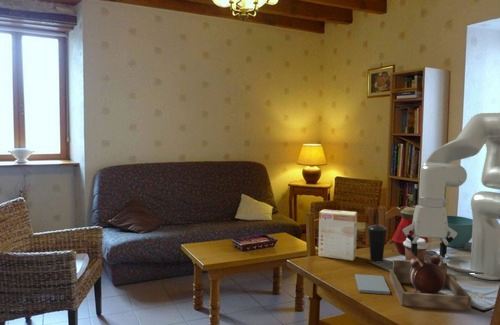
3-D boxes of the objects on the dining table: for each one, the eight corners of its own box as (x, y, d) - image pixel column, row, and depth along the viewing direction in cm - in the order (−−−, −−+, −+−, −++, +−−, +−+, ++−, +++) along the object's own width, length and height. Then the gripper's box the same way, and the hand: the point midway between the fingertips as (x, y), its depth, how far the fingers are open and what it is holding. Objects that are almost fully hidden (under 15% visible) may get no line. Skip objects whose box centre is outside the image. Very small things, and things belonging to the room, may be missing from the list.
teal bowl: (483, 251, 178) (485, 224, 177) (443, 250, 178) (444, 224, 177) (462, 239, 196) (464, 215, 195) (426, 239, 196) (427, 215, 195)
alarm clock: (439, 290, 134) (440, 247, 133) (446, 297, 130) (447, 252, 128) (407, 291, 134) (408, 248, 133) (413, 298, 129) (414, 253, 128)
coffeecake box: (356, 256, 171) (357, 211, 169) (353, 261, 164) (354, 215, 162) (322, 251, 177) (322, 208, 175) (317, 256, 170) (318, 211, 168)
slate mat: (382, 278, 145) (382, 275, 145) (390, 294, 132) (390, 291, 132) (354, 276, 147) (354, 274, 147) (359, 292, 133) (359, 289, 133)
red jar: (412, 246, 184) (414, 204, 183) (435, 255, 172) (437, 210, 170) (384, 250, 179) (386, 206, 177) (406, 259, 166) (408, 212, 164)
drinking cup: (364, 257, 169) (365, 211, 168) (381, 256, 170) (383, 210, 168) (371, 263, 162) (372, 215, 160) (389, 262, 162) (390, 214, 161)
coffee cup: (397, 266, 159) (398, 236, 158) (417, 264, 160) (418, 235, 159) (411, 274, 150) (412, 243, 149) (432, 272, 152) (433, 242, 151)
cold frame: (448, 284, 140) (449, 262, 139) (470, 310, 120) (472, 285, 120) (389, 281, 143) (390, 259, 142) (401, 305, 123) (402, 280, 123)
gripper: (455, 201, 131) (452, 253, 133) (400, 199, 134) (398, 250, 135) (464, 206, 124) (460, 260, 125) (405, 203, 126) (403, 257, 128)
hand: (428, 255), depth 130 cm, fingers open, 8 cm apart
